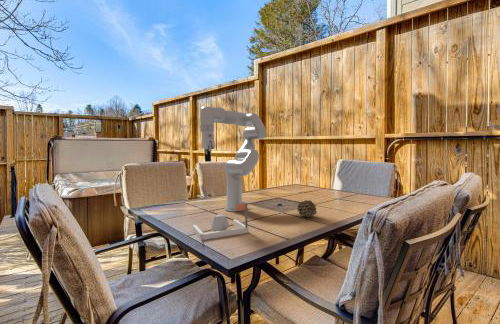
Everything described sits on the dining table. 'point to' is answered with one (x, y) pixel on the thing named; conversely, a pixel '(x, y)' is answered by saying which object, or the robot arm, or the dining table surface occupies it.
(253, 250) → the dining table surface
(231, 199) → the robot arm
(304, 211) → the pine cone
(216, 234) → the white stand base
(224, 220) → the die
